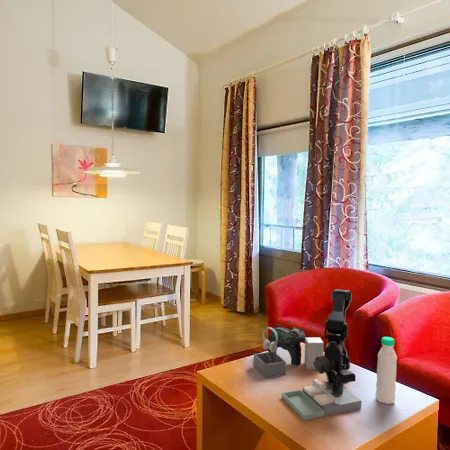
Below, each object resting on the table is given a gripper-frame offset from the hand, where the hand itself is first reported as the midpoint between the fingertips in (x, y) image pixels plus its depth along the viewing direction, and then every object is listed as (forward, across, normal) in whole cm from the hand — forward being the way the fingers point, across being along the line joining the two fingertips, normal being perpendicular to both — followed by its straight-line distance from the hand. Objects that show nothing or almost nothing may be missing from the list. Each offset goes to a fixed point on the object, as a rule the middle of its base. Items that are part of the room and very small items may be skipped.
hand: (333, 389), depth 157 cm
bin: (+4, 0, -14) cm, 15 cm away
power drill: (+5, -40, 0) cm, 40 cm away
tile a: (+2, -4, -7) cm, 8 cm away
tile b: (+2, +4, -7) cm, 8 cm away
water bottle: (+5, +6, +20) cm, 21 cm away
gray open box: (+4, -32, -12) cm, 35 cm away
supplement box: (+5, -30, +10) cm, 32 cm away
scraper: (+1, 0, -1) cm, 1 cm away
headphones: (+5, -32, -12) cm, 35 cm away
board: (+4, 0, -1) cm, 5 cm away
